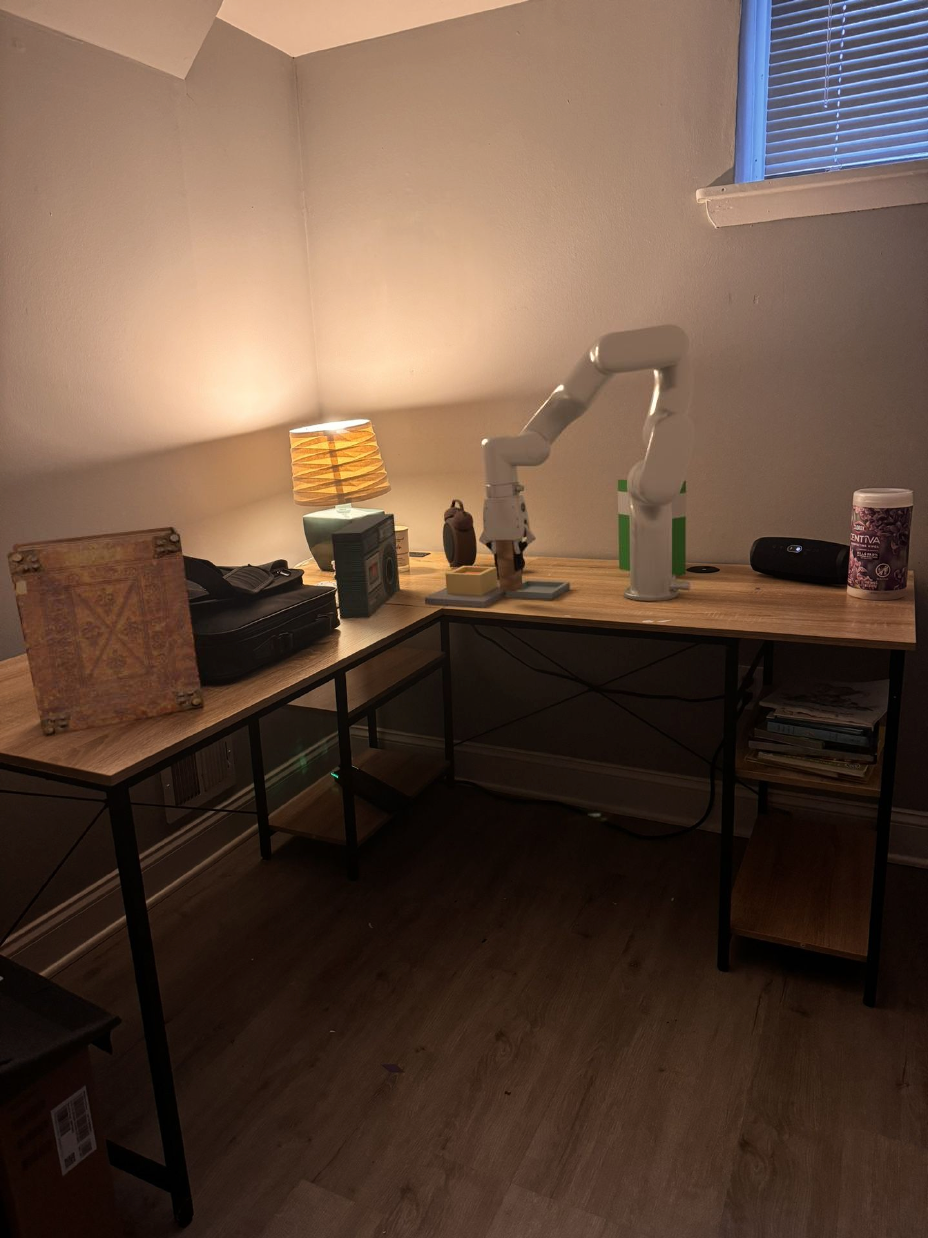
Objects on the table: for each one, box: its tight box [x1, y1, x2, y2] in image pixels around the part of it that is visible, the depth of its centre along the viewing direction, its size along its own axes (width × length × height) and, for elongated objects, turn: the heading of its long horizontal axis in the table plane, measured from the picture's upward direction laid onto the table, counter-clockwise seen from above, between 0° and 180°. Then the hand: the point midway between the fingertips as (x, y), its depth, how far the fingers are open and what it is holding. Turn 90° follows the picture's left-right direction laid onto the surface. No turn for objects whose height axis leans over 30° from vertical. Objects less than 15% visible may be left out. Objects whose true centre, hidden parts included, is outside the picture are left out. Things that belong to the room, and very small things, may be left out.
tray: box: [505, 579, 571, 602], centre depth 211 cm, size 12×12×2 cm
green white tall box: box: [617, 479, 687, 577], centre depth 225 cm, size 18×7×24 cm, turn 29°
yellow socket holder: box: [424, 565, 506, 609], centre depth 212 cm, size 16×20×6 cm
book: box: [6, 526, 205, 737], centre depth 142 cm, size 25×9×30 cm, turn 112°
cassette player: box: [331, 513, 401, 619], centre depth 211 cm, size 29×7×20 cm, turn 170°
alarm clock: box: [442, 498, 478, 569], centre depth 243 cm, size 15×7×20 cm, turn 17°
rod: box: [495, 540, 523, 591], centre depth 200 cm, size 4×4×16 cm
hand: (509, 568), depth 201 cm, fingers closed on rod, 4 cm apart
